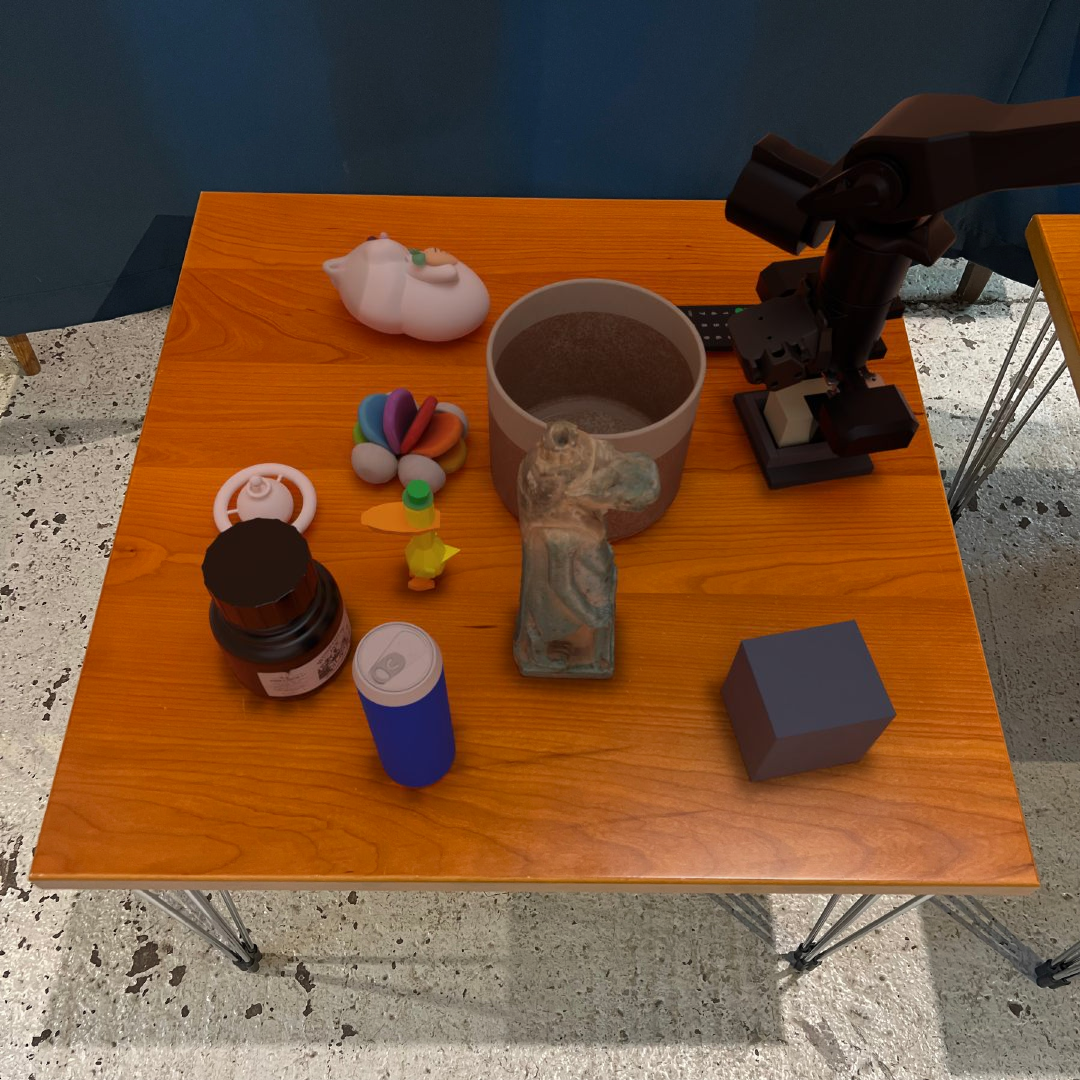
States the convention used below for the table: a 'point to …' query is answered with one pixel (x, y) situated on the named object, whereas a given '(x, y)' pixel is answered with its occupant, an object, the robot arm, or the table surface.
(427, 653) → the beverage can
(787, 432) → the beige block
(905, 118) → the robot arm
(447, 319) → the cat figurine
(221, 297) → the table surface
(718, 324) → the remote control
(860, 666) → the dark gray cube
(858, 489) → the table surface
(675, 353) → the planter
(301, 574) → the ink bottle
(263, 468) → the ring around a ball
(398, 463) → the rainbow stacking pebbles
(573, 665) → the statue
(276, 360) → the table surface
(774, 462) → the dark gray square tray
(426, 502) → the toy figure
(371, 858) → the table surface
